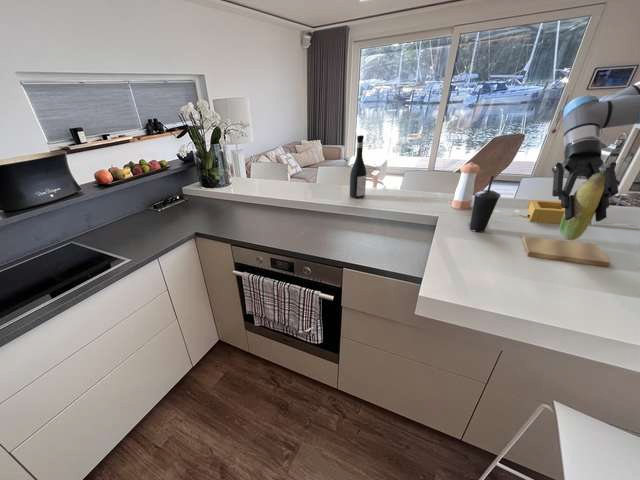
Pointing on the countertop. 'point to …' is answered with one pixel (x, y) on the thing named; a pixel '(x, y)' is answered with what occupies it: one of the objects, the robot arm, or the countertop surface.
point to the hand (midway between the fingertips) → (585, 218)
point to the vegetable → (583, 207)
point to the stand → (545, 211)
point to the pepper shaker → (465, 186)
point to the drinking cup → (483, 207)
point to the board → (565, 251)
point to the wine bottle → (358, 173)
